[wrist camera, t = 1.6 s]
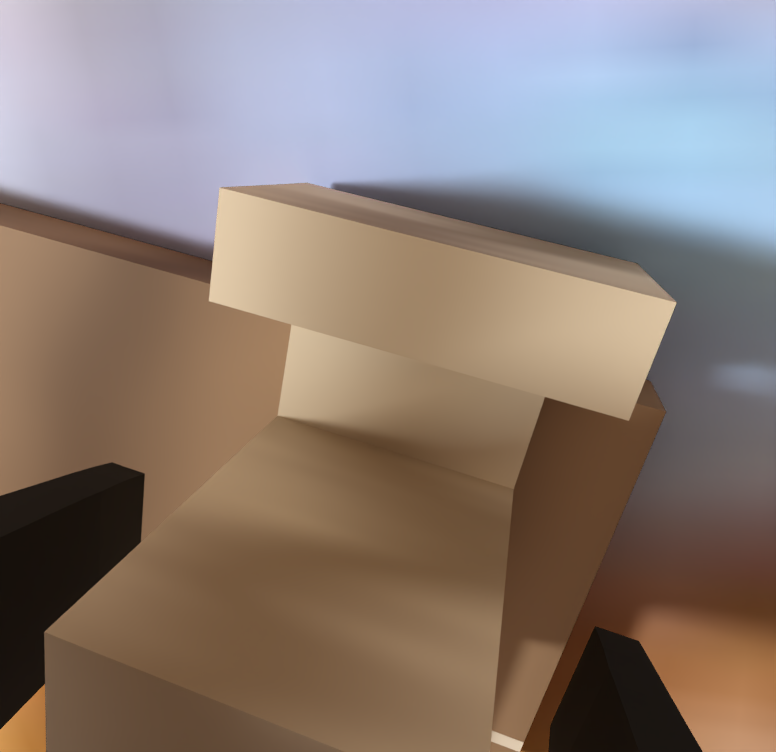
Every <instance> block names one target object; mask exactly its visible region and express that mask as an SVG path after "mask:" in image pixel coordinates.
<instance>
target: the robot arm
mask: <svg viewBox="0 0 776 752" xmlns="http://www.w3.org/2000/svg"><path fill="white" fill-rule="evenodd" d="M144 481H145V473H142V472H139V471H136V470H133V469H130V468H127V467H124V466H121V465H118V464H116V463H113V462H111V463H107V464H103V465H99V466H95V467H91V468H88V469H84V470H81V471H78V472H74V473H71V474H68V475H64V476H61V477H58V478H55V479H52V480H49V481H45V482H42V483H39V484H36V485H33V486H30V487H27V488H24V489H20V490H17V491H14V492H11V493H8V494H4V495H1V496H0V729H1V728H2V727H3V726H4V725H5V724H6V723H7V722H8V721H9V720H10V719H11V718H12V717H13V716H14V715H15V714H16V713H17V712H18V711H19V710H20V708H21V707H22V706H23V705H24V704H25V703H26V702H27V701H28V700H29V699H30V698H31V697H32V696H33V695H34V694H35V693H36V692H37V691H38V690H39V689H40V688H41V687H42V686H43V685H44V684H45V647H44V632H45V631H46V630H47V629H48V628H49V627H50V626H51V625H52V624H53V623H54V622H56V621H57V620H58V619H59V618H60V617H61V616H62V615H63V614H64V613H65V612H66V611H67V610H69V609H70V608H71V607H72V606H73V605H74V604H75V603H76V602H77V601H78V600H79V599H80V598H81V597H83V596H84V595H85V594H86V593H87V592H88V591H89V590H90V589H91V588H92V587H93V586H94V585H95V584H97V583H98V582H99V581H100V580H101V579H102V578H103V577H104V576H105V575H106V574H107V573H108V572H109V571H111V570H112V569H113V568H114V567H115V566H116V565H117V564H118V563H119V562H120V561H121V560H122V559H123V558H125V557H126V556H127V555H128V554H129V553H130V552H131V551H132V550H133V549H134V548H135V547H136V546H138V545H139V544H140V543H141V533H142V515H143V498H144ZM549 752H702V750H701V748H700V746H699V745H698V743H697V741H696V740H695V738H694V736H693V735H692V733H691V731H690V729H689V728H688V726H687V724H686V722H685V721H684V719H683V717H682V716H681V714H680V712H679V710H678V709H677V707H676V705H675V703H674V702H673V700H672V698H671V696H670V695H669V693H668V691H667V689H666V688H665V686H664V684H663V682H662V681H661V679H660V677H659V675H658V673H657V672H656V670H655V668H654V666H653V665H652V663H651V661H650V659H649V658H648V656H647V654H646V653H645V651H644V649H643V647H642V646H641V644H640V642H639V641H637V640H634V639H631V638H628V637H625V636H622V635H619V634H616V633H613V632H610V631H607V630H604V629H601V628H598V627H596V626H595V628H594V630H593V632H592V634H591V637H590V639H589V641H588V643H587V645H586V648H585V650H584V652H583V654H582V657H581V659H580V661H579V663H578V665H577V668H576V670H575V672H574V674H573V677H572V679H571V681H570V683H569V685H568V688H567V690H566V692H565V694H564V697H563V699H562V701H561V703H560V705H559V708H558V710H557V712H556V714H555V716H554V719H553V721H552V723H551V726H550V739H549Z"/></svg>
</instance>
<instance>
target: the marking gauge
mask: <svg viewBox="0 0 776 752" xmlns="http://www.w3.org/2000/svg"><path fill="white" fill-rule="evenodd" d="M209 301H210V302H214V303H217V304H221V305H224V306H228V307H231V308H235V309H238V310H242V311H245V312H249V313H252V314H256V315H259V316H263V317H266V318H270V319H273V320H277V321H280V322H284V323H287V324H291V331H290V338H289V344H288V351H287V357H286V364H285V370H284V377H283V384H282V390H281V397H280V403H279V410H278V416H277V417H276V418H274V419H273V420H272V421H271V422H270V423H269V424H268V425H267V426H266V427H265V428H264V429H263V430H262V431H260V432H259V433H258V434H257V435H256V436H255V437H254V438H253V439H252V440H251V441H250V442H249V443H248V444H246V445H245V446H244V447H243V448H242V449H241V450H240V451H239V452H238V453H237V454H236V455H235V456H233V457H232V458H231V459H230V460H229V461H228V462H227V463H226V464H225V465H224V466H223V467H222V468H221V469H219V470H218V471H217V472H216V473H215V474H214V475H213V476H212V477H211V478H210V479H209V480H208V481H207V482H205V483H204V484H203V485H202V486H201V487H200V488H199V489H198V490H197V491H196V492H195V493H194V494H193V495H191V496H190V497H189V498H188V499H187V500H186V501H185V502H184V503H183V504H182V505H181V506H180V507H178V508H177V509H176V510H175V511H174V512H173V513H172V514H171V515H170V516H169V517H168V518H167V519H166V520H164V521H163V522H162V523H161V524H160V525H159V526H158V527H157V528H156V529H155V530H154V531H153V532H152V533H150V534H149V535H148V536H147V537H146V538H145V539H144V540H143V541H142V542H141V543H140V544H139V545H138V546H136V547H135V548H134V549H133V550H132V551H131V552H130V553H129V554H128V555H127V556H126V557H125V558H123V559H122V560H121V561H120V562H119V563H118V564H117V565H116V566H115V567H114V568H113V569H112V570H111V571H109V572H108V573H107V574H106V575H105V576H104V577H103V578H102V579H101V580H100V581H99V582H98V583H97V584H95V585H94V586H93V587H92V588H91V589H90V590H89V591H88V592H87V593H86V594H85V595H84V596H83V597H81V598H80V599H79V600H78V601H77V602H76V603H75V604H74V605H73V606H72V607H71V608H70V609H69V610H67V611H66V612H65V613H64V614H63V615H62V616H61V617H60V618H59V619H58V620H57V621H56V622H54V623H53V624H52V625H51V626H50V627H49V628H48V629H47V630H46V631H45V632H44V647H45V707H46V752H490V746H491V735H492V723H493V712H494V701H495V690H496V679H497V668H498V657H499V646H500V635H501V624H502V613H503V601H504V590H505V579H506V568H507V557H508V546H509V535H510V524H511V513H512V502H513V491H514V487H515V484H516V481H517V478H518V475H519V472H520V469H521V466H522V463H523V460H524V457H525V454H526V451H527V448H528V445H529V443H530V440H531V437H532V434H533V431H534V428H535V425H536V422H537V419H538V416H539V413H540V410H541V407H542V404H543V401H544V398H545V397H547V398H551V399H554V400H558V401H561V402H565V403H568V404H572V405H575V406H579V407H582V408H586V409H589V410H593V411H596V412H600V413H603V414H607V415H610V416H614V417H617V418H621V419H624V420H628V421H629V419H630V417H631V414H632V412H633V409H634V407H635V404H636V402H637V399H638V397H639V394H640V392H641V390H642V387H643V385H644V382H645V380H646V377H647V375H648V372H649V370H650V367H651V365H652V362H653V360H654V358H655V355H656V353H657V350H658V348H659V345H660V343H661V340H662V338H663V335H664V333H665V330H666V328H667V326H668V323H669V321H670V318H671V316H672V313H673V311H674V308H675V306H676V303H677V302H676V301H675V300H674V299H673V298H672V297H671V296H670V295H669V294H668V293H667V292H666V291H665V290H664V289H663V288H662V287H660V286H659V285H658V284H657V283H656V282H655V281H654V280H653V279H652V278H651V277H650V276H649V275H648V274H647V273H646V272H645V271H644V270H643V269H642V268H641V267H640V266H639V265H638V264H637V263H633V262H629V261H625V260H621V259H617V258H613V257H609V256H605V255H601V254H596V253H592V252H588V251H584V250H580V249H576V248H572V247H568V246H564V245H560V244H556V243H551V242H547V241H543V240H539V239H535V238H531V237H527V236H523V235H519V234H515V233H510V232H506V231H502V230H498V229H494V228H490V227H486V226H482V225H478V224H474V223H470V222H465V221H461V220H457V219H453V218H449V217H445V216H441V215H437V214H433V213H429V212H424V211H420V210H416V209H412V208H408V207H404V206H400V205H396V204H392V203H388V202H384V201H379V200H375V199H371V198H367V197H363V196H359V195H355V194H351V193H347V192H343V191H338V190H334V189H330V188H326V187H322V186H318V185H314V184H310V183H295V184H276V185H258V186H239V187H221V188H220V189H219V200H218V210H217V220H216V231H215V241H214V252H213V262H212V273H211V283H210V293H209Z"/></svg>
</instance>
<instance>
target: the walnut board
mask: <svg viewBox="0 0 776 752" xmlns="http://www.w3.org/2000/svg"><path fill="white" fill-rule="evenodd" d="M212 262H213V261H210V260H206V259H202V258H199V257H195V256H192V255H188V254H184V253H181V252H177V251H173V250H170V249H166V248H162V247H159V246H155V245H151V244H148V243H144V242H140V241H137V240H133V239H129V238H126V237H122V236H118V235H115V234H111V233H107V232H104V231H100V230H96V229H93V228H89V227H85V226H82V225H78V224H74V223H71V222H67V221H63V220H60V219H56V218H52V217H49V216H45V215H41V214H38V213H34V212H30V211H27V210H23V209H20V208H16V207H12V206H9V205H5V204H1V203H0V496H1V495H4V494H8V493H11V492H14V491H17V490H20V489H24V488H27V487H30V486H33V485H36V484H39V483H42V482H45V481H49V480H52V479H55V478H58V477H61V476H64V475H68V474H71V473H74V472H78V471H81V470H84V469H88V468H91V467H95V466H99V465H103V464H107V463H111V462H113V463H116V464H118V465H121V466H124V467H127V468H130V469H133V470H136V471H139V472H142V473H145V481H144V498H143V515H142V533H141V542H142V541H143V540H144V539H145V538H146V537H147V536H148V535H149V534H150V533H152V532H153V531H154V530H155V529H156V528H157V527H158V526H159V525H160V524H161V523H162V522H163V521H164V520H166V519H167V518H168V517H169V516H170V515H171V514H172V513H173V512H174V511H175V510H176V509H177V508H178V507H180V506H181V505H182V504H183V503H184V502H185V501H186V500H187V499H188V498H189V497H190V496H191V495H193V494H194V493H195V492H196V491H197V490H198V489H199V488H200V487H201V486H202V485H203V484H204V483H205V482H207V481H208V480H209V479H210V478H211V477H212V476H213V475H214V474H215V473H216V472H217V471H218V470H219V469H221V468H222V467H223V466H224V465H225V464H226V463H227V462H228V461H229V460H230V459H231V458H232V457H233V456H235V455H236V454H237V453H238V452H239V451H240V450H241V449H242V448H243V447H244V446H245V445H246V444H248V443H249V442H250V441H251V440H252V439H253V438H254V437H255V436H256V435H257V434H258V433H259V432H260V431H262V430H263V429H264V428H265V427H266V426H267V425H268V424H269V423H270V422H271V421H272V420H273V419H274V418H276V417H277V416H278V410H279V403H280V397H281V390H282V384H283V377H284V370H285V364H286V357H287V351H288V344H289V338H290V331H291V324H287V323H284V322H280V321H277V320H273V319H270V318H266V317H263V316H259V315H256V314H252V313H249V312H245V311H242V310H238V309H235V308H231V307H228V306H224V305H221V304H217V303H214V302H210V301H209V293H210V283H211V273H212ZM665 413H666V411H665V409H664V407H663V405H662V403H661V401H660V399H659V397H658V395H657V393H656V391H655V389H654V387H653V385H652V383H651V381H649V380H645V382H644V385H643V387H642V390H641V392H640V394H639V397H638V399H637V402H636V404H635V407H634V409H633V412H632V414H631V417H630V419H629V421H628V420H624V419H621V418H617V417H614V416H610V415H607V414H603V413H600V412H596V411H593V410H589V409H586V408H582V407H579V406H575V405H572V404H568V403H565V402H561V401H558V400H554V399H551V398H547V397H545V398H544V401H543V404H542V407H541V410H540V413H539V416H538V419H537V422H536V425H535V428H534V431H533V434H532V437H531V440H530V443H529V445H528V448H527V451H526V454H525V457H524V460H523V463H522V466H521V469H520V472H519V475H518V478H517V481H516V484H515V487H514V491H513V502H512V513H511V524H510V535H509V546H508V557H507V568H506V579H505V590H504V601H503V613H502V624H501V635H500V646H499V657H498V668H497V679H496V690H495V701H494V712H493V723H492V735H491V746H490V752H520V750H521V748H522V746H523V743H524V741H525V738H526V736H527V734H528V731H529V729H530V727H531V724H532V722H533V720H534V717H535V715H536V713H537V711H538V708H539V706H540V704H541V701H542V699H543V697H544V694H545V692H546V690H547V687H548V685H549V683H550V680H551V678H552V676H553V673H554V671H555V669H556V666H557V664H558V662H559V659H560V657H561V655H562V652H563V650H564V648H565V645H566V643H567V641H568V639H569V636H570V634H571V632H572V629H573V627H574V625H575V622H576V620H577V618H578V615H579V613H580V611H581V608H582V606H583V604H584V601H585V599H586V597H587V594H588V592H589V590H590V587H591V585H592V583H593V580H594V578H595V576H596V573H597V571H598V569H599V566H600V564H601V562H602V560H603V557H604V555H605V553H606V550H607V548H608V546H609V543H610V541H611V539H612V536H613V534H614V532H615V529H616V527H617V525H618V522H619V520H620V518H621V515H622V513H623V511H624V508H625V506H626V504H627V501H628V499H629V497H630V494H631V492H632V490H633V488H634V485H635V483H636V481H637V478H638V476H639V474H640V471H641V469H642V467H643V464H644V462H645V460H646V457H647V455H648V453H649V450H650V448H651V446H652V443H653V441H654V439H655V436H656V434H657V432H658V429H659V427H660V425H661V422H662V420H663V418H664V415H665Z"/></svg>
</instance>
